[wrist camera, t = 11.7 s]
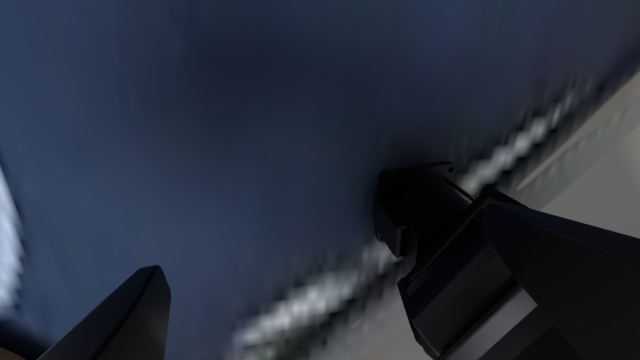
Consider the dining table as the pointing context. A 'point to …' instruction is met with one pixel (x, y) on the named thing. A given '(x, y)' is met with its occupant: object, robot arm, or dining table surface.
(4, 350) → the plant saucer
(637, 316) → the robot arm
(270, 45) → the dining table surface
